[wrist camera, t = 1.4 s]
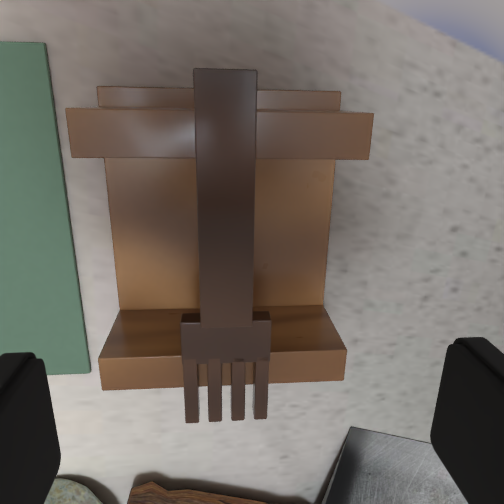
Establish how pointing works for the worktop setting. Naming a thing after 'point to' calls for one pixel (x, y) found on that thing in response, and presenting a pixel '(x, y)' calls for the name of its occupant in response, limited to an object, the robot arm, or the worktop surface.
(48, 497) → the soupspoon
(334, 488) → the meat cleaver
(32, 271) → the mat
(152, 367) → the rack
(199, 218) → the fork
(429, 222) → the worktop surface
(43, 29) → the worktop surface
